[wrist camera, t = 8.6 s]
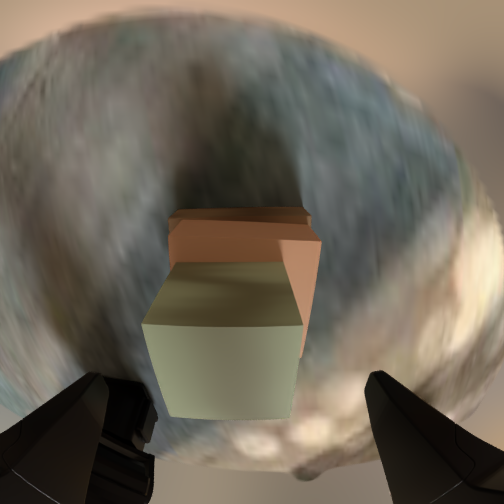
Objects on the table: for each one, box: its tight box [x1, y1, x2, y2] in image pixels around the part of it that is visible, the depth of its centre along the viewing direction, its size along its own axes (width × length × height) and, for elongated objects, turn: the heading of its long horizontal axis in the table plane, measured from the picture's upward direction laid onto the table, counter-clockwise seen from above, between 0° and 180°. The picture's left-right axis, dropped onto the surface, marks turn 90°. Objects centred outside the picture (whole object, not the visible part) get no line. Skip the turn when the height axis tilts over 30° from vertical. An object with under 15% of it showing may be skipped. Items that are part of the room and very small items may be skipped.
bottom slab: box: [168, 207, 311, 234], centre depth 18 cm, size 8×8×3 cm
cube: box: [141, 262, 304, 420], centre depth 11 cm, size 5×5×5 cm
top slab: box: [168, 220, 322, 358], centre depth 15 cm, size 7×7×3 cm
